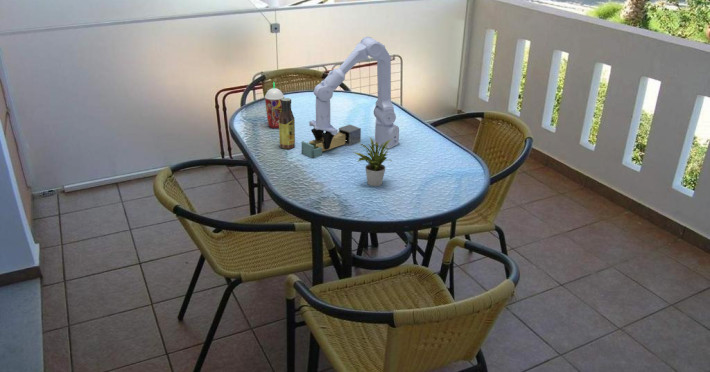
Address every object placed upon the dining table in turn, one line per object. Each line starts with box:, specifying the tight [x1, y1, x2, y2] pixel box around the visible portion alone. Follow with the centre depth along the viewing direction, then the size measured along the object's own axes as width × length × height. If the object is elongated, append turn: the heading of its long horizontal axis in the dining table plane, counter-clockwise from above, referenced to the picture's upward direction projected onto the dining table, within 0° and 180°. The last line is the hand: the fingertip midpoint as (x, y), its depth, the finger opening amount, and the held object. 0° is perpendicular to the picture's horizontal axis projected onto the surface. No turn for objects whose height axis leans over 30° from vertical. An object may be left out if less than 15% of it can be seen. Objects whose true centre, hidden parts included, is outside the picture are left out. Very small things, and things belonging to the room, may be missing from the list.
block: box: [308, 131, 346, 153], centre depth 239 cm, size 16×4×4 cm, turn 135°
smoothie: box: [264, 81, 285, 129], centre depth 259 cm, size 8×8×20 cm
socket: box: [301, 141, 323, 159], centre depth 234 cm, size 5×7×5 cm
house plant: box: [353, 137, 393, 187], centre depth 210 cm, size 14×14×16 cm
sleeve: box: [338, 124, 362, 146], centre depth 247 cm, size 6×6×6 cm
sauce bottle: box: [278, 97, 296, 150], centre depth 238 cm, size 7×6×20 cm
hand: (323, 147), depth 238 cm, fingers closed on block, 4 cm apart
